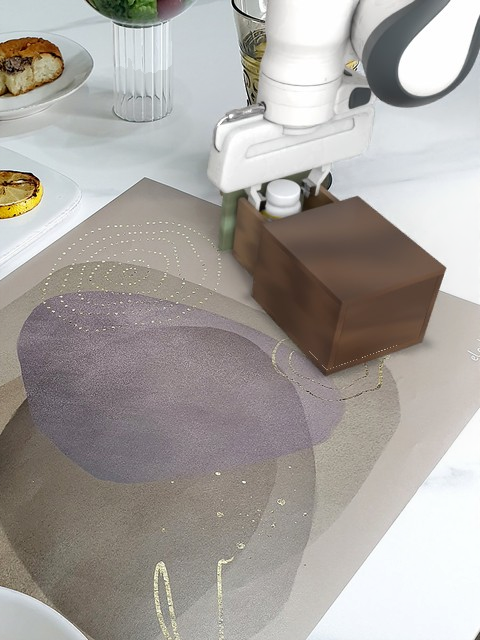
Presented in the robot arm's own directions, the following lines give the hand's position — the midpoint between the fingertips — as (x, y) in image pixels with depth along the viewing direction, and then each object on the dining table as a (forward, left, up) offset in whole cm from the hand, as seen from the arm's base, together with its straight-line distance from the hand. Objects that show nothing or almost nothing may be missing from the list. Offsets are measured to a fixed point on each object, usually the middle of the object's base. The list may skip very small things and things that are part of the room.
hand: (282, 202), depth 104 cm
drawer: (0, +1, -8) cm, 8 cm away
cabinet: (0, +13, -8) cm, 16 cm away
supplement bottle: (0, 0, -7) cm, 7 cm away
